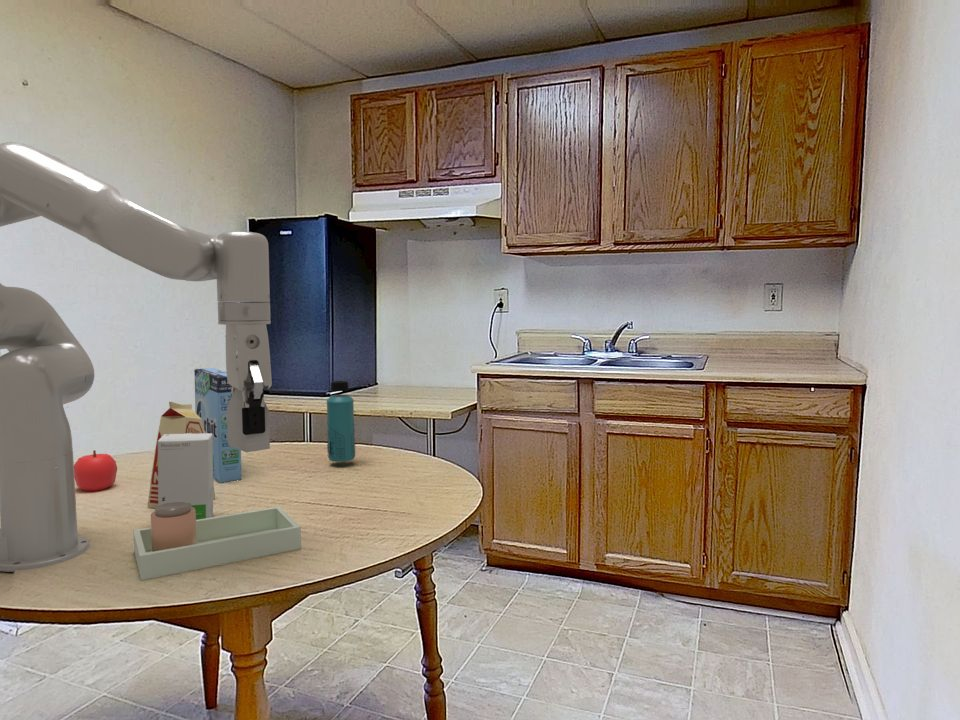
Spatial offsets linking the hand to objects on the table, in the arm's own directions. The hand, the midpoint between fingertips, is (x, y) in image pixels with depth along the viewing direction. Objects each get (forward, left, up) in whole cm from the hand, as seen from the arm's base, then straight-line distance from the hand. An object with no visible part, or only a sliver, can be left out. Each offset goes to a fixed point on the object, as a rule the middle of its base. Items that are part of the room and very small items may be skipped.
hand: (247, 428), depth 101 cm
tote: (-5, 0, -19) cm, 20 cm away
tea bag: (0, 0, -3) cm, 3 cm away
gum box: (+4, +51, -19) cm, 55 cm away
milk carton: (-6, +31, -19) cm, 37 cm away
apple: (-20, +51, -19) cm, 58 cm away
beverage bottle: (+30, +43, -19) cm, 56 cm away
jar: (-11, 0, -18) cm, 21 cm away
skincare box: (-7, +17, -19) cm, 27 cm away
